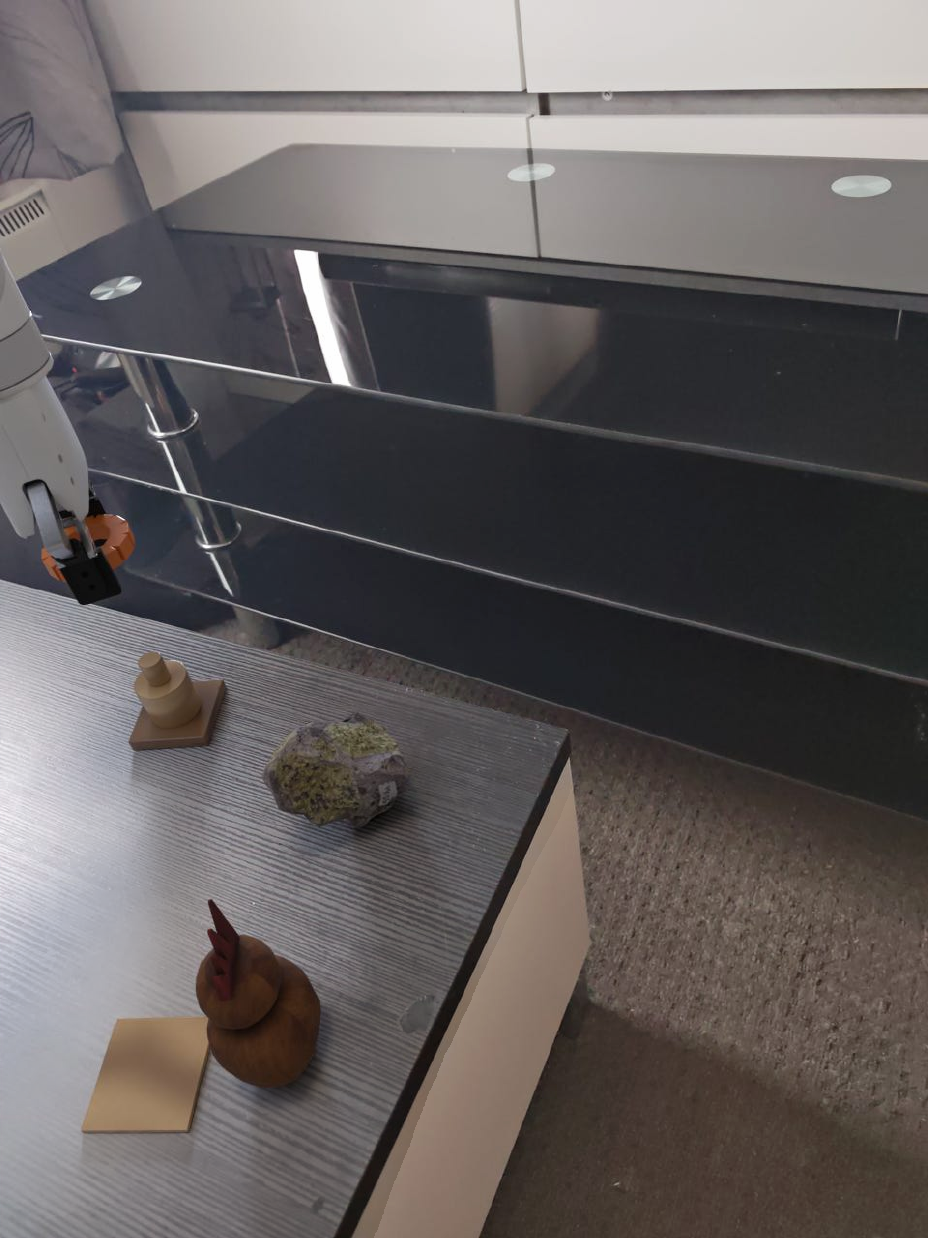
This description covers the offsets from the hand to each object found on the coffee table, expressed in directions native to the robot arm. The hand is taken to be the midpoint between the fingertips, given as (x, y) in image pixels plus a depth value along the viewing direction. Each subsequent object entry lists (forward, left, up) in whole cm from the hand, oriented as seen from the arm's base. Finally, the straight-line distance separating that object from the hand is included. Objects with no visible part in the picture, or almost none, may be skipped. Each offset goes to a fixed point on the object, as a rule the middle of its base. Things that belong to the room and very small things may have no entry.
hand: (100, 568), depth 71 cm
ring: (0, 0, +1) cm, 1 cm away
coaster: (-31, -7, -18) cm, 36 cm away
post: (0, 0, -18) cm, 18 cm away
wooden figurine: (-30, -16, -18) cm, 38 cm away
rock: (-11, -18, -18) cm, 28 cm away
